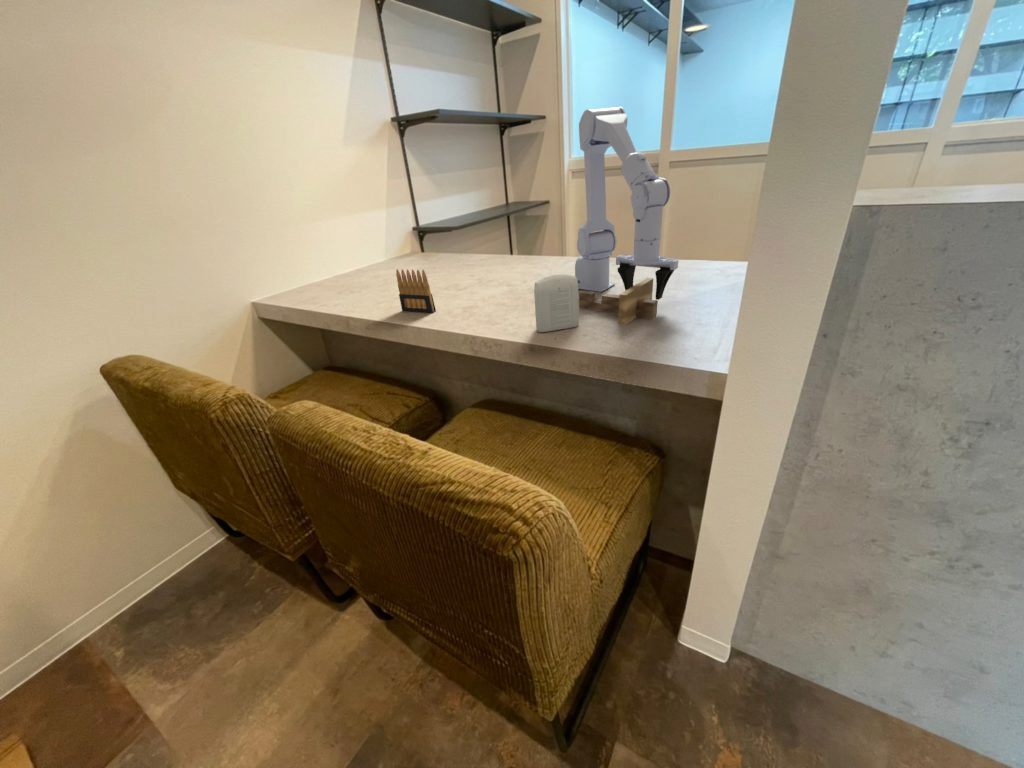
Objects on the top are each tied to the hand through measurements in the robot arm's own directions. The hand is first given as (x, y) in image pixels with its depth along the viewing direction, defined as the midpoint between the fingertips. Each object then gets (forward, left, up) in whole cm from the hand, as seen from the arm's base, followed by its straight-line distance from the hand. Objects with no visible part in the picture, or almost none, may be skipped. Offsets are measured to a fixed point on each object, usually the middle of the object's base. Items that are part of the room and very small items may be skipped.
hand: (643, 296), depth 101 cm
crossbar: (0, -4, -3) cm, 5 cm away
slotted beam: (-5, -5, -3) cm, 7 cm away
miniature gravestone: (-12, -20, -4) cm, 23 cm away
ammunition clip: (-55, -28, -4) cm, 62 cm away
